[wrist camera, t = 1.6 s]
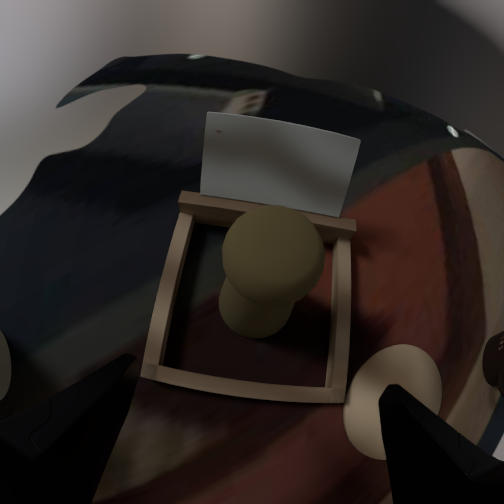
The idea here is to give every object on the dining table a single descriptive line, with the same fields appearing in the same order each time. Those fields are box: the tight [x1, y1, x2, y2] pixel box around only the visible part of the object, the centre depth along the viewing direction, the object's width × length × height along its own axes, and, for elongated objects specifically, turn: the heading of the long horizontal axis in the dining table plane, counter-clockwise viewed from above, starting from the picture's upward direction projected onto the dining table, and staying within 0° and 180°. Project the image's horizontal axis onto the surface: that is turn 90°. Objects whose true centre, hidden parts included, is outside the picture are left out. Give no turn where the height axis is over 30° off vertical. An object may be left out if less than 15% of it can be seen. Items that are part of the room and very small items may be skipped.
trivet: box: [343, 344, 442, 460], centre depth 19 cm, size 11×11×1 cm
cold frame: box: [141, 112, 361, 403], centre depth 19 cm, size 19×15×9 cm
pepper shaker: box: [219, 205, 325, 339], centre depth 17 cm, size 6×6×11 cm
